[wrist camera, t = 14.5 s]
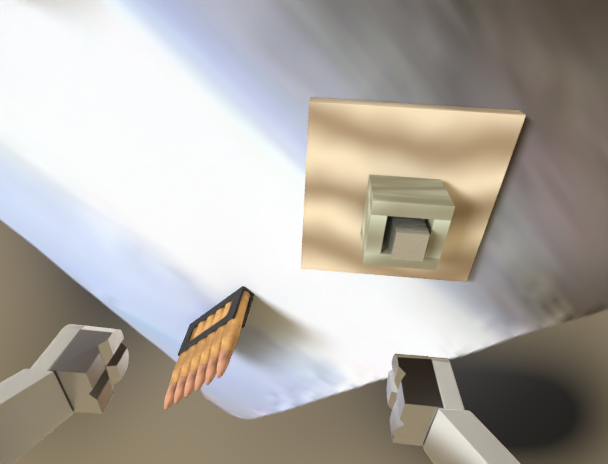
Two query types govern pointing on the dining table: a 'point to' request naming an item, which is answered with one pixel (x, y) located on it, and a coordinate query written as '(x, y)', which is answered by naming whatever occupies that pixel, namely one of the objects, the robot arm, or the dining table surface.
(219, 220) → the dining table surface
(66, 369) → the robot arm
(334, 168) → the shaft board
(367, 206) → the collar
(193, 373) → the ammunition clip
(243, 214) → the dining table surface
